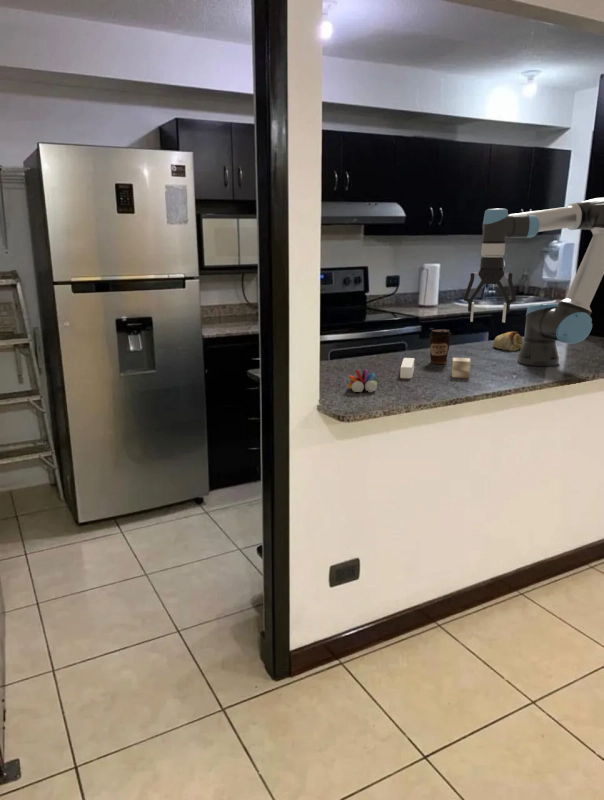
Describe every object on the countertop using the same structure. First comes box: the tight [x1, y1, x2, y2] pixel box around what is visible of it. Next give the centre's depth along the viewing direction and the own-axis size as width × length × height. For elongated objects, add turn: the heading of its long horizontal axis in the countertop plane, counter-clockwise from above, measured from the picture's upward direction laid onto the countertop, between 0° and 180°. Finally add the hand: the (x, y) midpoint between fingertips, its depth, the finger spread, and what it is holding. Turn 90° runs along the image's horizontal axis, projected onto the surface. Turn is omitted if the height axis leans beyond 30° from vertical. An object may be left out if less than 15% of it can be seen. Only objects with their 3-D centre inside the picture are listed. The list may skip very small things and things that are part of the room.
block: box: [451, 357, 471, 379], centre depth 214 cm, size 6×6×6 cm
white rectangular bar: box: [399, 357, 416, 379], centre depth 219 cm, size 4×16×4 cm, turn 167°
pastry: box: [492, 330, 523, 352], centre depth 262 cm, size 14×12×8 cm
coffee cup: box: [429, 328, 452, 365], centre depth 233 cm, size 9×8×13 cm
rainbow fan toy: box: [347, 368, 378, 393], centre depth 196 cm, size 8×10×7 cm
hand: (487, 321), depth 208 cm, fingers open, 10 cm apart
